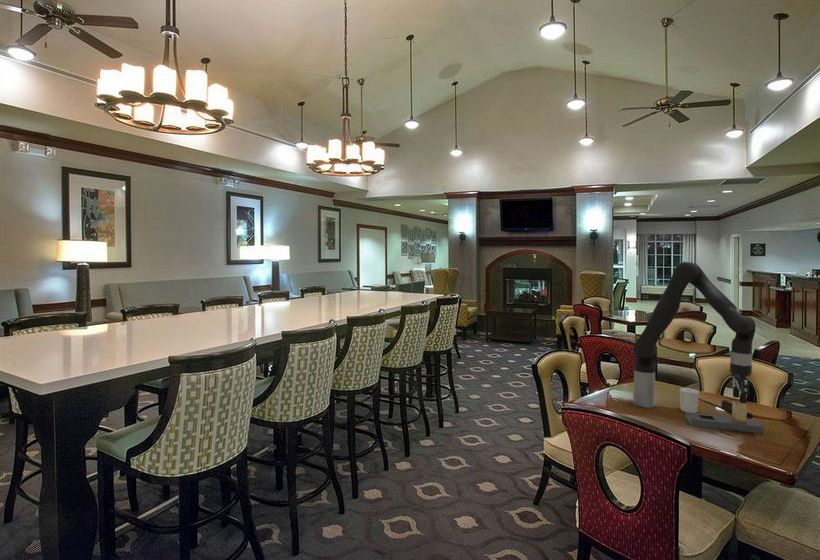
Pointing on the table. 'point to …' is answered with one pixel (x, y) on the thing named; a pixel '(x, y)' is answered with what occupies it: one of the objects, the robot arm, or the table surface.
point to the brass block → (739, 411)
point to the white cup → (689, 400)
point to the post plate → (723, 422)
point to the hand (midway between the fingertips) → (739, 400)
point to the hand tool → (728, 407)
